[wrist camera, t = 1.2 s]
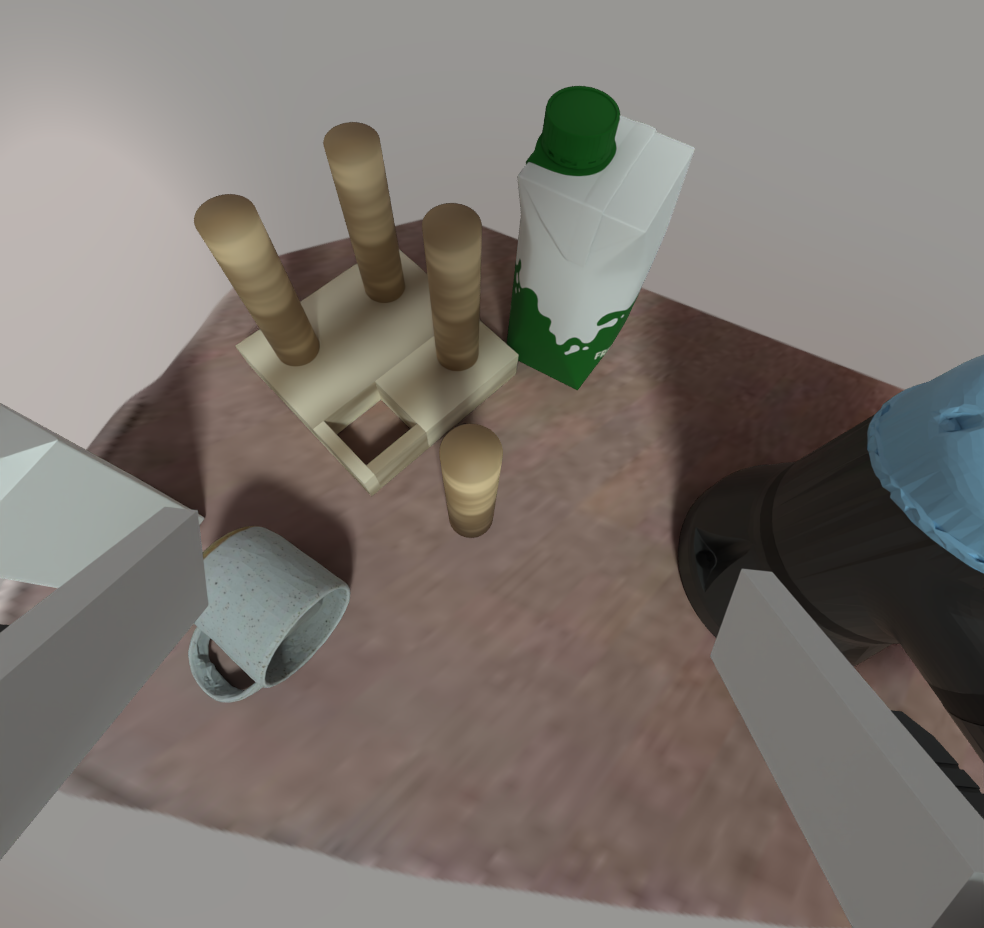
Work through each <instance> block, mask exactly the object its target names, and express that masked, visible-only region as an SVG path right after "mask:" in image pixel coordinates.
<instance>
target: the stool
mask: <svg viewBox="0 0 984 928" xmlns="http://www.w3.org/2000/svg"><path fill="white" fill-rule="evenodd" d="M323 144H324V148H325V152H326V155H327V159H328V162H329V166H330V169H331V173H332V176H333V180H334V183H335V187H336V190H337V194H338V197H339V201H340V204H341V208H342V211H343V215H344V218H345V222H346V225H347V229H348V232H349V236H350V239H351V243H352V247H353V250H354V254H355V257H356V261H357V264H355V265H354V266H352V267H351V268H349V269H348V270H346V271H345V272H343V273H342V274H340V275H339V276H337V277H336V278H335V279H333V280H332V281H330V282H329V283H327V284H326V285H324V286H323V287H321V288H320V289H318V290H317V291H315V292H314V293H313V294H311V295H310V296H308V297H307V298H305V299H304V300H302V301H301V302H300V301H299V299H298V296H297V294H296V292H295V290H294V288H293V286H292V284H291V282H290V280H289V278H288V275H287V273H286V271H285V269H284V267H283V265H282V263H281V261H280V259H279V257H278V254H277V252H276V250H275V248H274V246H273V244H272V242H271V240H270V238H269V236H268V233H267V232H266V229H265V227H264V225H263V223H262V221H261V219H260V217H259V215H258V212H257V210H256V208H255V206H254V205H253V203H252V202H251V201H249V200H248V199H247V198H245V197H243V196H240V195H235V194H225V195H219V196H216V197H213V198H211V199H209V200H207V201H206V202H205V203H203V204H202V205H201V206H200V207H199V208H198V210H197V211H196V214H195V217H194V224H195V227H196V229H197V231H198V232H199V234H200V235H201V237H202V238H203V240H204V242H205V243H206V245H207V246H208V248H209V249H210V251H211V253H212V254H213V256H214V257H215V259H216V260H217V262H218V264H219V265H220V266H221V268H222V270H223V272H224V273H225V275H226V276H227V278H228V279H229V281H230V282H231V284H232V286H233V287H234V289H235V290H236V292H237V294H238V295H239V297H240V298H241V300H242V301H243V303H244V305H245V306H246V308H247V309H248V311H249V312H250V314H251V316H252V317H253V319H254V320H255V322H256V323H257V325H258V327H259V328H260V330H258V331H257V332H255V333H254V334H252V335H251V336H249V337H248V338H246V339H245V340H243V341H242V342H240V343H239V344H238V345H236V346H235V347H236V348H237V349H238V351H239V352H240V353H241V355H242V356H243V357H244V359H245V360H246V361H247V363H248V364H249V365H250V367H251V368H252V369H253V370H254V371H255V372H256V373H257V374H258V375H259V376H260V377H261V378H262V379H263V381H264V382H265V383H266V384H267V385H268V386H269V387H270V388H271V389H272V390H273V391H274V392H275V393H276V394H277V396H278V397H279V398H280V399H281V400H282V401H283V402H284V403H285V404H286V405H287V406H288V407H289V408H290V409H291V411H292V412H293V413H294V414H295V415H296V416H297V417H298V418H299V419H300V420H301V421H302V422H303V423H304V425H305V426H306V427H307V428H308V429H309V430H310V431H311V432H312V433H313V434H314V435H315V436H316V437H317V438H318V440H319V441H320V442H321V443H322V444H323V445H324V446H325V447H326V448H327V449H328V450H329V451H330V452H331V453H332V455H333V456H334V457H335V458H336V459H337V460H338V461H339V462H340V463H341V464H342V465H343V466H344V467H345V468H346V470H347V471H348V472H349V473H350V474H351V475H352V476H353V477H354V478H355V479H356V480H357V481H358V482H359V483H360V485H361V486H362V487H363V488H364V489H365V490H366V491H367V492H368V493H369V494H370V495H371V496H373V495H374V494H375V493H376V492H377V491H378V490H380V489H381V488H382V487H383V486H384V485H386V484H387V483H388V482H389V481H390V480H391V479H393V478H394V477H395V476H396V475H397V474H399V473H400V472H401V471H402V470H403V469H404V468H406V467H407V466H408V465H409V464H410V463H412V462H413V461H414V460H415V459H416V458H417V457H419V456H420V455H421V454H422V453H423V452H424V451H426V450H427V449H428V448H429V447H430V446H432V445H433V444H434V443H435V442H436V441H437V440H439V439H440V438H441V437H442V436H443V435H445V434H446V433H447V432H448V431H449V430H450V429H452V428H453V427H454V426H455V425H456V424H457V423H459V422H460V421H461V420H462V419H463V418H465V417H466V416H467V415H468V414H469V413H470V412H472V411H473V410H474V409H475V408H476V407H478V406H479V405H480V404H481V403H482V402H483V401H485V400H486V399H487V398H488V397H489V396H490V395H492V394H493V393H494V392H495V391H496V390H498V389H499V388H500V387H501V386H502V385H503V384H505V383H506V382H507V381H508V380H509V379H511V378H512V377H513V376H514V375H515V374H516V369H517V363H518V356H519V355H518V354H517V353H516V352H515V351H514V350H513V349H512V348H510V347H509V346H508V345H507V344H506V343H505V342H504V341H502V340H501V339H500V338H499V337H498V336H497V335H496V334H495V333H493V332H492V331H491V330H490V329H489V328H488V327H487V326H485V325H484V324H483V323H482V322H481V321H480V320H479V317H480V277H481V237H482V224H481V220H480V217H479V216H478V215H477V213H476V212H475V211H474V210H472V209H471V208H469V207H467V206H465V205H462V204H457V203H446V204H441V205H438V206H436V207H434V208H432V209H431V210H430V211H429V212H428V213H427V214H426V215H425V217H424V219H423V222H422V231H423V240H424V248H425V257H426V266H427V273H425V272H424V271H423V270H422V269H421V268H420V267H419V266H418V265H416V264H415V263H414V262H413V261H412V260H411V259H410V258H408V257H407V256H406V255H405V254H404V253H403V252H402V251H401V250H399V247H398V241H397V236H396V230H395V224H394V218H393V213H392V207H391V201H390V196H389V190H388V184H387V178H386V173H385V167H384V161H383V156H382V150H381V144H380V138H379V135H378V133H377V132H376V131H375V130H374V129H373V128H372V127H370V126H368V125H366V124H363V123H357V122H349V123H343V124H340V125H337V126H335V127H333V128H332V129H331V130H330V131H329V132H328V133H327V134H326V135H325V138H324V142H323ZM380 400H382V401H383V402H384V403H385V404H386V405H387V406H388V407H389V408H390V409H391V410H392V411H393V412H394V413H395V414H396V415H397V416H398V417H399V418H400V419H401V420H402V421H403V422H404V423H405V424H406V425H407V426H408V427H409V428H410V430H409V431H408V432H406V433H405V434H404V435H403V436H401V437H400V438H399V439H398V440H397V441H395V442H394V443H393V444H392V445H391V446H389V447H388V448H387V449H386V450H384V451H383V452H382V453H381V454H380V455H378V456H377V457H376V458H375V459H374V460H372V461H371V462H370V463H369V464H367V465H365V464H364V463H363V462H362V461H361V460H360V459H359V458H358V457H357V456H356V455H355V454H354V453H353V452H352V450H351V449H350V448H349V447H348V446H347V445H346V444H345V443H344V442H343V441H342V440H341V439H340V438H339V437H338V436H337V434H338V433H339V432H341V431H342V430H343V429H344V428H346V427H347V426H348V425H349V424H351V423H352V422H353V421H355V420H356V419H357V418H358V417H360V416H361V415H362V414H363V413H365V412H366V411H367V410H369V409H370V408H371V407H372V406H374V405H375V404H376V403H377V402H379V401H380Z"/></svg>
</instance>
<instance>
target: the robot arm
mask: <svg viewBox="0 0 984 928" xmlns="http://www.w3.org/2000/svg"><path fill="white" fill-rule="evenodd" d="M678 557H679V568H680V574H681V578H682V582H683V585H684V588H685V591H686V594H687V596H688V598H689V601H690V603H691V605H692V607H693V608H694V610H695V612H696V613H697V615H698V616H699V618H700V619H701V621H702V622H703V624H704V625H705V626H706V627H707V629H708V630H709V631H710V632H711V633H712V634H713V635H714V636H715V637H716V641H715V644H714V647H713V650H712V652H711V655H710V657H711V658H712V660H713V662H714V664H715V666H716V668H717V670H718V672H719V674H720V676H721V678H722V679H723V681H724V683H725V685H726V687H727V689H728V691H729V693H730V695H731V697H732V699H733V700H734V702H735V704H736V706H737V708H738V710H739V712H740V714H741V716H742V718H743V720H744V721H745V723H746V725H747V727H748V729H749V731H750V733H751V735H752V737H753V739H754V741H755V742H756V744H757V746H758V748H759V750H760V752H761V754H762V756H763V758H764V760H765V762H766V764H767V765H768V767H769V769H770V771H771V773H772V775H773V777H774V779H775V781H776V783H777V785H778V786H779V788H780V790H781V792H782V794H783V796H784V798H785V800H786V802H787V804H788V806H789V807H790V809H791V811H792V813H793V815H794V817H795V819H796V821H797V823H798V825H799V827H800V828H801V830H802V832H803V834H804V836H805V838H806V840H807V842H808V844H809V846H810V848H811V849H812V851H813V853H814V855H815V857H816V859H817V861H818V863H819V865H820V867H821V869H822V870H823V872H824V874H825V876H826V878H827V880H828V882H829V884H830V886H831V888H832V890H833V891H834V893H835V895H836V897H837V899H838V901H839V903H840V905H841V907H842V909H843V911H844V912H845V914H846V916H847V918H848V920H849V922H850V924H851V926H852V928H984V794H982V793H981V792H980V790H979V789H980V787H979V786H978V785H977V784H976V783H975V782H974V781H973V780H972V779H971V777H970V776H969V775H968V774H967V773H966V772H965V771H964V770H961V769H959V767H958V763H957V762H956V761H955V760H954V758H953V757H952V756H951V755H950V754H949V753H948V752H947V751H946V750H945V748H944V747H943V746H942V745H941V744H940V743H939V742H938V741H937V740H936V738H935V737H934V736H933V735H931V734H930V733H929V732H927V731H926V730H925V729H924V728H922V727H921V726H920V725H918V724H917V723H916V722H915V721H913V720H912V719H911V718H909V717H908V716H907V715H906V714H904V713H903V712H902V711H892V710H890V709H889V708H888V707H887V706H886V705H885V703H884V702H883V701H882V700H881V699H880V698H879V696H878V695H877V694H876V693H875V692H874V691H873V689H872V688H871V687H870V686H869V685H868V684H867V682H866V681H865V680H864V679H863V678H862V677H861V675H860V674H859V673H858V672H857V671H856V669H855V668H854V667H853V666H855V665H858V664H859V663H861V662H863V661H865V660H866V659H868V658H870V657H871V656H873V655H875V654H876V653H878V652H880V651H881V650H883V649H884V648H886V647H888V646H889V645H891V644H899V643H900V644H901V646H902V647H903V649H904V650H905V651H906V653H907V654H908V656H909V657H910V659H911V660H912V661H913V663H914V664H915V666H916V667H917V669H918V670H919V671H920V673H921V674H922V676H923V677H924V679H925V680H926V681H927V682H928V684H929V685H930V687H931V688H932V690H933V691H934V692H935V694H936V695H937V697H938V698H939V699H940V701H941V702H942V704H943V706H944V708H945V709H946V710H947V712H948V713H949V715H950V716H951V717H952V719H953V720H954V722H955V723H956V725H957V726H958V727H959V729H960V730H961V732H962V733H963V735H964V736H965V737H966V739H967V740H968V742H969V743H970V744H971V746H972V747H973V749H974V750H975V752H976V753H977V754H978V756H979V757H980V759H981V760H982V761H983V763H984V355H981V356H979V357H976V358H974V359H971V360H969V361H967V362H965V363H963V364H961V365H959V366H957V367H955V368H953V369H951V370H950V371H948V372H946V373H944V374H942V375H940V376H938V377H936V378H935V379H933V380H931V381H929V382H926V383H923V384H919V385H916V386H913V387H911V388H908V389H906V390H904V391H902V392H900V393H899V394H897V395H895V396H894V397H892V398H891V399H890V400H888V401H887V402H886V403H884V404H883V406H882V408H881V409H880V410H879V411H878V412H877V413H876V414H875V415H873V416H872V417H870V418H868V419H867V420H865V421H863V422H862V423H860V424H858V425H857V426H855V427H853V428H852V429H850V430H848V431H847V432H845V433H843V434H842V435H840V436H838V437H837V438H835V439H833V440H831V441H830V442H828V443H826V444H825V445H823V446H821V447H820V448H818V449H816V450H815V451H813V452H811V453H810V454H808V455H806V456H804V457H803V458H801V459H800V460H798V461H797V462H788V463H779V464H771V465H759V466H753V467H749V468H745V469H742V470H740V471H737V472H734V473H732V474H730V475H728V476H727V477H725V478H723V479H722V480H720V481H719V482H717V483H716V484H715V485H713V486H712V487H710V488H709V489H708V490H707V491H705V492H704V493H703V494H702V495H701V496H700V497H699V498H698V499H697V500H696V502H695V503H694V504H693V506H692V507H691V509H690V510H689V512H688V514H687V516H686V518H685V520H684V523H683V526H682V529H681V533H680V539H679V548H678ZM208 605H209V604H208V595H207V587H206V578H205V570H204V561H203V552H202V544H201V535H200V526H199V518H198V510H191V509H181V508H172V507H164V508H162V509H161V510H160V511H158V512H157V513H156V514H154V515H153V516H152V517H151V518H149V519H148V520H147V521H145V522H144V523H143V524H141V525H140V526H139V527H137V528H136V529H135V530H134V531H132V532H131V533H130V534H128V535H127V536H126V537H124V538H123V539H122V540H121V541H119V542H118V543H117V544H115V545H114V546H113V547H111V548H110V549H109V550H107V551H106V552H105V553H104V554H102V555H101V556H100V557H98V558H97V559H96V560H94V561H93V562H92V563H91V564H89V565H88V566H87V567H85V568H84V569H83V570H81V571H80V572H79V573H77V574H76V575H75V576H74V577H72V578H71V579H70V580H68V581H67V582H66V583H64V584H63V585H62V586H61V587H59V588H58V589H57V590H55V591H54V592H53V593H51V594H50V595H49V596H47V597H46V598H45V599H44V600H42V601H41V602H40V603H38V604H37V605H36V606H34V607H33V608H32V609H31V610H29V611H28V612H27V613H25V614H24V615H23V616H21V617H20V618H19V619H17V620H16V621H15V622H14V623H12V624H11V625H1V624H0V860H1V859H2V857H3V856H4V855H5V854H6V853H7V851H8V850H9V849H10V848H11V846H12V845H13V844H14V843H15V841H16V840H17V839H18V838H19V837H20V835H21V834H22V833H23V832H24V830H25V829H26V828H27V827H28V826H29V824H30V823H31V822H32V821H33V820H34V818H35V817H36V816H37V815H38V813H39V812H40V811H41V810H42V808H43V807H44V806H45V804H47V802H48V801H49V800H50V799H51V797H52V796H53V795H54V794H55V793H56V791H57V790H58V789H59V788H60V787H61V785H62V784H63V783H64V782H65V780H66V779H67V778H68V777H69V776H70V774H71V773H72V772H73V771H74V769H75V768H76V767H77V766H78V764H79V763H80V762H81V761H82V760H83V758H84V757H85V756H86V755H87V753H88V752H89V751H90V750H91V749H92V747H93V746H94V745H95V744H96V742H97V741H98V740H99V739H100V738H101V736H102V735H103V734H104V733H105V731H106V730H107V729H108V728H109V727H110V725H111V724H112V723H113V722H114V720H115V719H116V718H117V717H118V716H119V714H120V713H121V712H122V711H123V709H124V708H125V707H126V706H127V705H128V703H129V702H130V701H131V700H132V698H133V697H134V696H135V695H136V694H137V692H138V691H139V690H140V689H141V687H142V686H143V685H144V684H145V683H146V681H147V680H148V679H149V678H150V676H151V675H152V674H153V673H154V672H155V670H156V669H157V668H158V667H159V665H160V664H161V663H162V662H163V661H164V659H165V658H166V657H167V656H168V654H169V653H170V652H171V651H172V649H173V648H174V647H175V646H176V645H177V643H178V642H179V641H180V640H181V638H182V637H183V636H184V635H185V634H186V632H187V631H188V630H189V629H190V627H191V626H192V625H193V624H194V623H195V621H196V620H197V619H198V618H199V616H200V615H201V614H202V613H203V612H204V610H205V609H206V608H207V607H208Z"/></svg>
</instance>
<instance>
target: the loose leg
mask: <svg viewBox="0 0 984 928" xmlns="http://www.w3.org/2000/svg"><path fill="white" fill-rule="evenodd" d="M439 455H440V462H441V468H442V475H443V482H444V488H445V495H446V501H447V508H448V514H449V521H450V524H451V526H452V528H453V529H454V531H455V532H457V533H458V534H459V535H461V536H464V537H468V538H474V537H478V536H481V535H483V534H484V533H485V532H486V531H487V530H488V529H489V528H490V526H491V524H492V521H493V515H494V508H495V502H496V495H497V489H498V482H499V476H500V470H501V463H502V456H503V450H502V445H501V442H500V440H499V438H498V437H497V436H496V435H495V433H494V432H492V431H491V430H490V429H488V428H486V427H484V426H482V425H478V424H464V425H460V426H458V427H456V428H454V429H452V430H451V431H450V432H449V433H448V434H447V435H446V436H445V437H444V439H443V440H442V443H441V446H440V451H439Z"/></svg>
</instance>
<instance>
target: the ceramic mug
mask: <svg viewBox="0 0 984 928" xmlns="http://www.w3.org/2000/svg"><path fill="white" fill-rule="evenodd" d="M203 561H204V570H205V578H206V587H207V595H208V604H209V605H208V607H207V608H206V609H205V610H204V612H203V613H202V614H201V615H200V616H199V618H198V619H197V620H196V621H195V623H194V624H195V625H196V626H197V628H196V629H195V631H194V634H193V636H192V638H191V642H190V646H189V651H188V656H189V664H190V668H191V672H192V674H193V676H194V678H195V680H196V681H197V683H198V685H199V686H200V687H201V689H202V690H203V691H204V692H205V693H206V694H207V695H209V696H210V697H211V698H213V699H215V700H217V701H220V702H234V701H239V700H242V699H244V698H246V697H248V696H250V695H252V694H253V693H255V692H257V691H258V690H260V689H261V688H262V687H265V688H269V687H272V686H275V685H277V684H279V683H281V682H283V681H284V680H286V679H287V678H288V677H290V676H291V675H292V674H294V673H295V672H296V671H297V670H298V669H299V668H301V667H302V666H303V665H304V664H305V663H306V662H307V661H308V660H309V659H310V658H311V657H312V656H313V655H314V653H315V652H316V651H317V650H318V649H319V648H320V647H321V646H322V645H323V644H324V642H325V641H326V640H327V638H328V637H329V636H330V634H331V633H332V632H333V630H334V629H335V628H336V626H337V624H338V623H339V621H340V620H341V618H342V616H343V614H344V612H345V610H346V608H347V605H348V603H349V600H350V588H349V586H348V585H347V584H346V583H345V582H344V581H342V580H341V579H340V578H338V577H337V576H335V575H334V574H332V573H331V572H330V571H328V570H327V569H326V568H324V567H323V566H322V565H320V564H319V563H317V562H316V561H315V560H313V559H312V558H311V557H309V556H308V555H306V554H305V553H303V552H302V551H301V550H299V549H298V548H296V547H295V546H294V545H292V544H291V543H290V542H288V541H287V540H286V539H284V538H283V537H282V536H280V535H278V534H276V533H274V532H272V531H270V530H268V529H266V528H263V527H259V526H248V527H243V528H240V529H237V530H234V531H232V532H230V533H228V534H226V535H224V536H223V537H221V538H220V539H218V540H216V541H215V542H214V543H213V544H211V545H210V546H209V547H208V548H207V549H206V550H205V551H204V552H203ZM210 638H211V639H212V640H213V641H214V642H215V643H216V644H217V645H218V646H219V647H220V648H221V649H222V650H223V651H224V652H225V653H226V654H227V655H228V656H229V657H230V658H231V659H232V660H233V661H234V662H235V663H236V664H237V665H239V666H240V667H241V668H242V669H243V670H244V671H245V672H246V673H247V674H248V675H249V676H250V677H251V678H252V679H253V680H254V681H255V683H254V684H253V685H251V686H250V687H249V688H247V689H246V690H240V689H237V688H236V687H232V686H231V685H230V684H229V683H228V682H227V681H226V680H225V679H224V678H223V677H222V675H221V674H220V673H219V672H218V671H217V670H216V669H215V666H214V664H213V663H211V662H210V659H209V640H210Z"/></svg>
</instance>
